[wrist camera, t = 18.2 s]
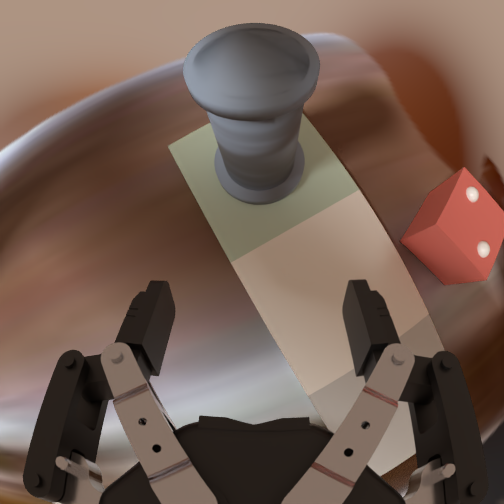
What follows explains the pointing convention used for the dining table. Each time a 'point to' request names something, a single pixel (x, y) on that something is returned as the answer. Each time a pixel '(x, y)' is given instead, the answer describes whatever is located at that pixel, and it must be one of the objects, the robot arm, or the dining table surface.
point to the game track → (314, 274)
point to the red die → (457, 231)
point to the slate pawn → (254, 105)
